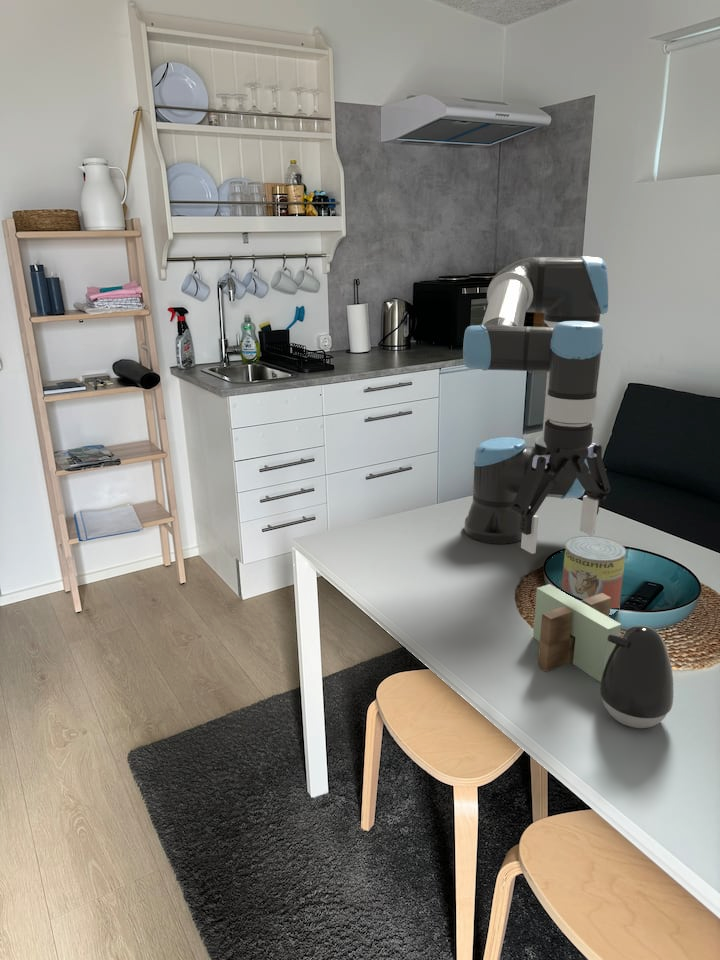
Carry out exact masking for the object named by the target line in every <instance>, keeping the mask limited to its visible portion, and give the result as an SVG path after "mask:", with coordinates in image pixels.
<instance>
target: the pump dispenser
mask: <svg viewBox="0 0 720 960" xmlns="http://www.w3.org/2000/svg"><path fill="white" fill-rule="evenodd" d="M608 641H609V642H612V643H614V644H616V645H615V646H614V648H613V650H612V652H611V654H610V656H609V658H608V660H607V662H606V665H605V668H604V671H603V674H602V678H601V682H599V693H600V697H601V698H602V702H603V703H602V704H603V705H604V707H605V710H606V711H607V712H608V714H609V715H610V716H611V717H612V718H613V719H614V720H616V721H617V722H619V723H621V724H622V725H624V726H628V727H630V728H635V729H648V728H652V727H655V726H657V725H658V724H660V723H661V722H662V721H663V720H664V719H665V718H666V716H667V714H669V712H670V711H671V710H672V707H673V703H674V691H675V690H674V676H673V669H672V664H671V662H672V661H671V659H670V656H669V652H668V649H667V646H666V644H665V641H664V639H663V637H662V636H661V635H660V634H659V632H657V630H655V629H654V628H652V627H649V626H647V625H635V626H632V627H630V628H629V629H628V630H626V631H625V632H624V633H623V634H622V635H620V636H616V635H612V634H610V635H609V636H608Z"/></svg>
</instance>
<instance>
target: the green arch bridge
mask: <svg viewBox="0 0 720 960" xmlns="http://www.w3.org/2000/svg"><path fill="white" fill-rule="evenodd" d="M535 594H536V595H535V609H534V621H533V630H532V631H533V633H532V638H533V639H535V640H536V641H538V642H539V643H540V634H541V622H542V614H543V613H546V612H549V611H552V610H555V609H557V608H560V607H563V606H564V607H566V608H567V609H569V610H571V611H572V621H571V631H570V634H571V635H573V636H574V637H576V638H575V647H574V657H573V661H572V665H574V666H575V667H576V668H578V669H579V670H582V671H583V672H584V673H585V674H587V675H589V676H590V677H592V678H593V679H595V680H596V681H598V682H599V683H600V682H601V678H602V674H603V671H604V668H605V665H606V662H607V660H608V658H609V656H610V654H611V652H612V650H613V648H614V646H615V645H616V644H614V643H612V642H609V641H608V636H609V635H610V634H612V635H616V636H620V637H621V630H622V623H620V622H618V621H616V620H614V619H613V618H611V617H610V616H609V617H608V616H606V615H604V614H602V613H600V612H599V611H597V610H595V609H593V608H591V607H590V606H588V605H586V604H584V603H583V602H581V601H579V600H577V599H575V598H574V597H572V596H570V595H568V594H566V593H565V592H563V591H561V589H559V588H557V587H556V586H554V585H552V584H550V583H548V584H545V585H542V586H539V587H536V593H535Z"/></svg>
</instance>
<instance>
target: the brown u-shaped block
mask: <svg viewBox="0 0 720 960" xmlns="http://www.w3.org/2000/svg"><path fill="white" fill-rule="evenodd" d="M582 602H583V603H584V604H586V605H588V606H590V607H591V608H593V609H595V610H597V611H599V612H600V613H602V614H604V615H606V616H608V617H609V618H610V616H609V613H610V605H611V597H609V596H607V595H605V594H603V593H601V594H598V595H595V596H592V597H589V598H586V599H583V600H582ZM571 621H572V611H571V610H569V609H567V608H566V607H564V606H563V607H560V608H557V609H555V610H552V611H549V612H546V613H543V614H542V622H541V634H540V642H539V649H538V659H537V666H538V667H539V668H540V669H542V670H543V671H544V672H546V673H547V672H549V671H552V670H555V669H557V668H558V667H561V666H565V665H567V664H569V663H571V662H572V663H573V657H574V647H575V638H576V637H574V636H573V635H571V634H570V631H571Z"/></svg>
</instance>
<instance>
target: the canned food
mask: <svg viewBox="0 0 720 960" xmlns="http://www.w3.org/2000/svg"><path fill="white" fill-rule="evenodd" d="M563 556H564V559H563V567H562V568H563V569H562V578H561V579H562V580H561V588H563V589H565V590H566V591H568V592H570V593H572V594H573V595H575V596H577V597H579V598H581V599H586V598H589V597H592V596H595V595H598V594H601V593H603V594H605V595H607V596H609V597H611V605H610V608H619V609H620V608H621V605H620V601H621V594H622V586H623V579H624V573H625V571H624V570H625V562H626V556H627V549H626V548H625V547H624V546H623V544H621V543H620V542H617V541H616V540H613V539H610V538H607V537H601V536H597V535H593V536H590V535H582V536H580V535H579V536H575V537H571V538H570V539H568V540H566V541H565V543H564V555H563Z"/></svg>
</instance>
